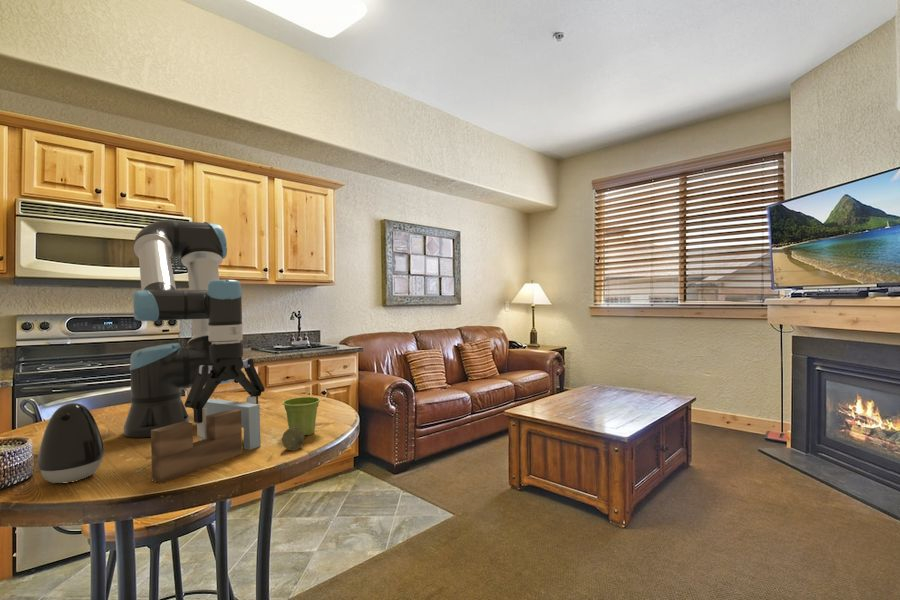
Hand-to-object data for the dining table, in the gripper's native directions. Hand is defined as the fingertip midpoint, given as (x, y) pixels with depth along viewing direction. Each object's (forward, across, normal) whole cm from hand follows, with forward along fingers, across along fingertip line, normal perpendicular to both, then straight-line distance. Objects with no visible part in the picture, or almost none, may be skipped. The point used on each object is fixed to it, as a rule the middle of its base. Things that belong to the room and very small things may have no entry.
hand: (228, 428), depth 110 cm
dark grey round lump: (+4, +3, -18) cm, 19 cm away
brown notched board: (+4, -13, -8) cm, 16 cm away
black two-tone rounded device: (+4, -28, +10) cm, 30 cm away
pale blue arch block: (+4, 0, 0) cm, 4 cm away
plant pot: (+4, +13, -11) cm, 18 cm away
